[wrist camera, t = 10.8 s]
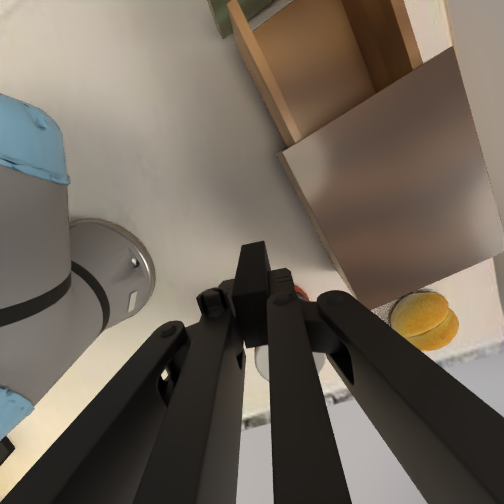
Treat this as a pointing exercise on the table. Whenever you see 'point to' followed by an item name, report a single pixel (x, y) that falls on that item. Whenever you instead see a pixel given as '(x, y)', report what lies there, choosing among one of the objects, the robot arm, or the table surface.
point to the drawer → (320, 55)
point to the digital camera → (5, 449)
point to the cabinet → (400, 186)
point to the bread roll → (425, 320)
